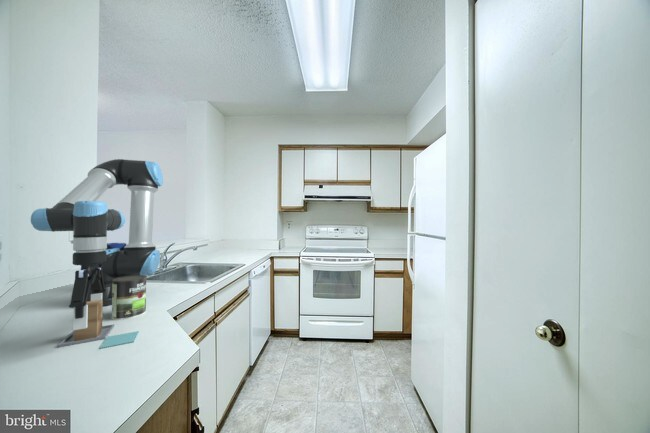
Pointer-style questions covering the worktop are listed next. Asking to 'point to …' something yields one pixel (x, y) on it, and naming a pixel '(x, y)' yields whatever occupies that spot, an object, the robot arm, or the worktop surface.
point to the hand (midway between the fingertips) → (88, 320)
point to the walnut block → (91, 322)
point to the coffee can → (128, 297)
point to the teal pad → (119, 339)
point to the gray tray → (70, 339)
